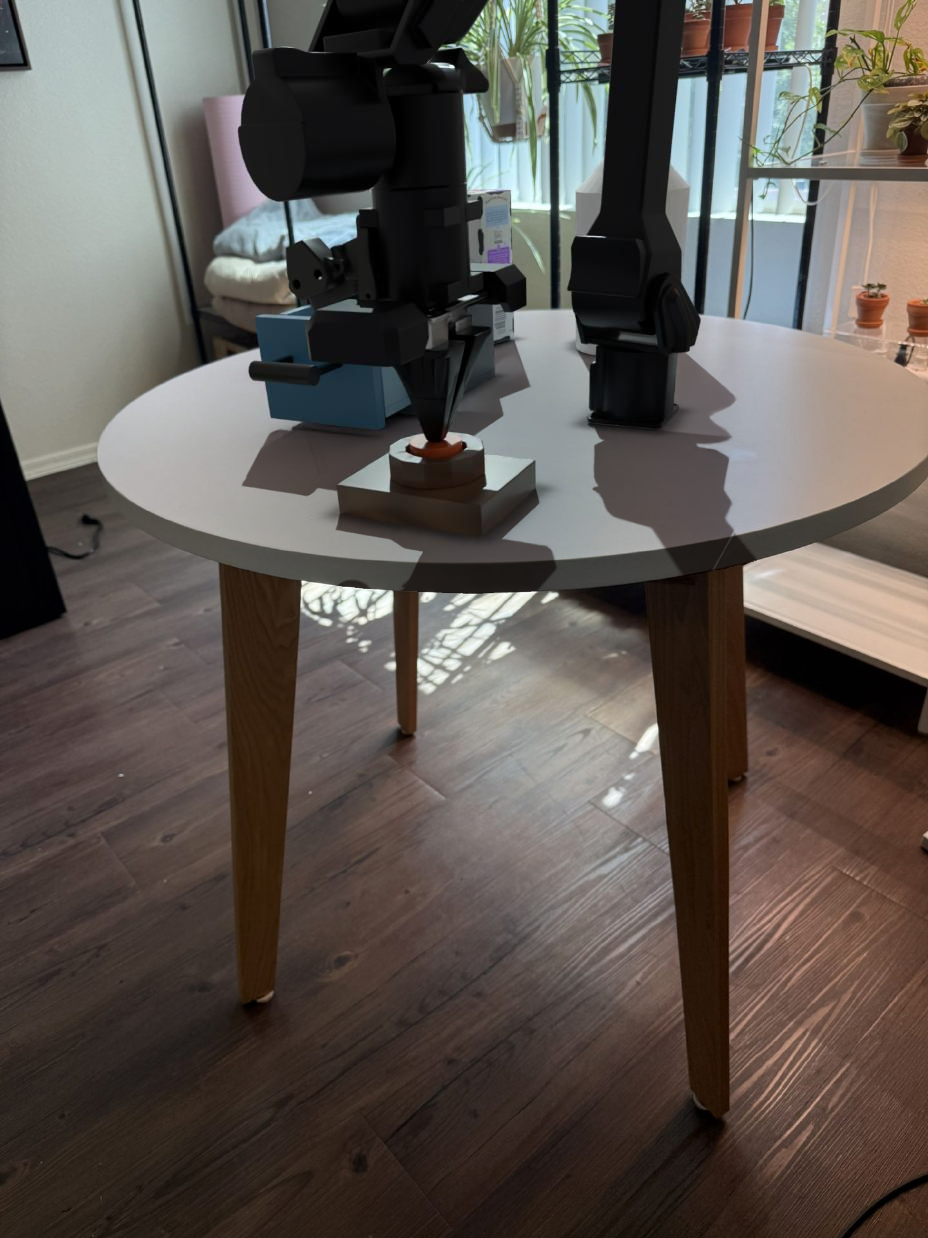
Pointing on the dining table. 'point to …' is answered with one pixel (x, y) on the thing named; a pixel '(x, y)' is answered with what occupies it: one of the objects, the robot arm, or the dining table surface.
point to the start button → (435, 446)
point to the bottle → (590, 208)
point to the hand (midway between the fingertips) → (435, 440)
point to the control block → (439, 488)
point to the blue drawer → (320, 379)
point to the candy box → (493, 245)
